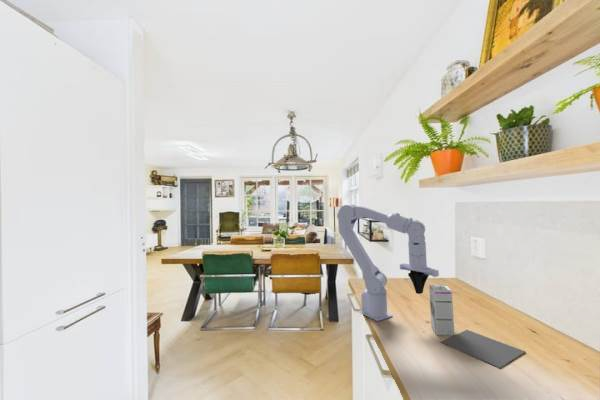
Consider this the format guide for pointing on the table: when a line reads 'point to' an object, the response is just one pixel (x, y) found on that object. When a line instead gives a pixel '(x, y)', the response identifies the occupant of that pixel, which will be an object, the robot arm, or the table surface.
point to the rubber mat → (483, 348)
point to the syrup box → (441, 310)
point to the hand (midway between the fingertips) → (419, 293)
